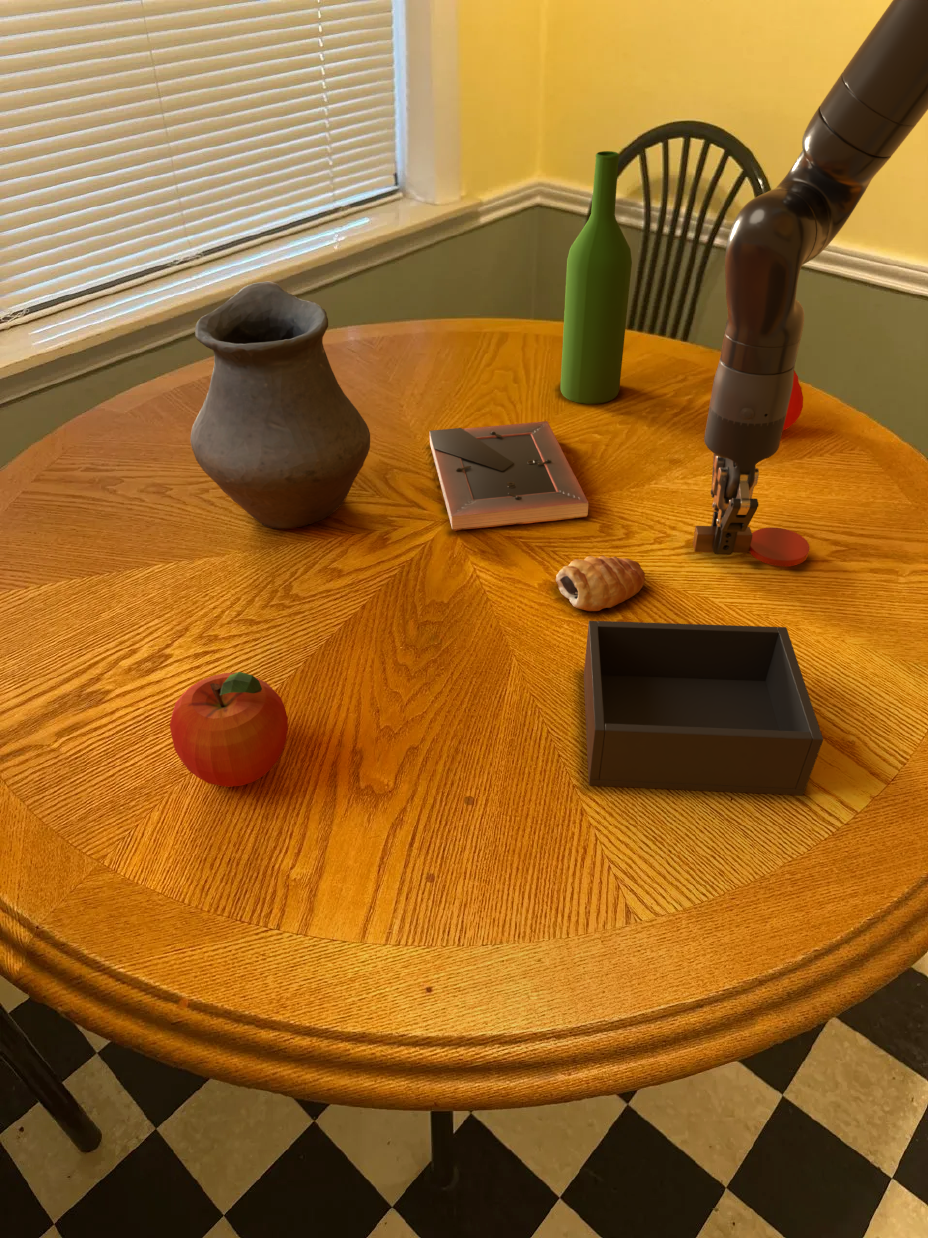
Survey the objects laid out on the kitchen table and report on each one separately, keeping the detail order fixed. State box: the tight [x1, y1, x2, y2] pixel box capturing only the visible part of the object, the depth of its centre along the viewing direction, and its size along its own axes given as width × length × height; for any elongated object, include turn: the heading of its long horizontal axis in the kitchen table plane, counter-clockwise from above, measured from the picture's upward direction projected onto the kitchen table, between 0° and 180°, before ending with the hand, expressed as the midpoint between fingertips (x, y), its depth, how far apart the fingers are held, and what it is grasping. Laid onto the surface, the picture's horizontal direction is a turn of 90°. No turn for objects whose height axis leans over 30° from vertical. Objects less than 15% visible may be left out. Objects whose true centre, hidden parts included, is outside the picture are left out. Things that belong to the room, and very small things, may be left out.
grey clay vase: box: [189, 281, 371, 530], centre depth 100 cm, size 21×22×25 cm
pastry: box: [555, 555, 646, 612], centre depth 92 cm, size 9×7×4 cm
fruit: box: [169, 671, 289, 788], centre depth 72 cm, size 10×10×10 cm
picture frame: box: [429, 420, 590, 531], centre depth 110 cm, size 16×2×22 cm
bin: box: [583, 620, 824, 796], centre depth 75 cm, size 18×14×7 cm
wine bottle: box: [559, 150, 633, 405], centre depth 121 cm, size 9×9×32 cm
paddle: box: [692, 525, 811, 567], centre depth 96 cm, size 13×7×2 cm, turn 86°
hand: (720, 546), depth 97 cm, fingers closed on paddle, 2 cm apart
